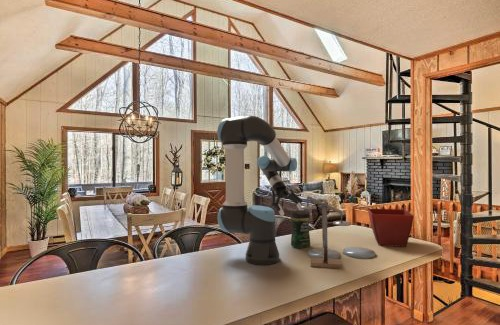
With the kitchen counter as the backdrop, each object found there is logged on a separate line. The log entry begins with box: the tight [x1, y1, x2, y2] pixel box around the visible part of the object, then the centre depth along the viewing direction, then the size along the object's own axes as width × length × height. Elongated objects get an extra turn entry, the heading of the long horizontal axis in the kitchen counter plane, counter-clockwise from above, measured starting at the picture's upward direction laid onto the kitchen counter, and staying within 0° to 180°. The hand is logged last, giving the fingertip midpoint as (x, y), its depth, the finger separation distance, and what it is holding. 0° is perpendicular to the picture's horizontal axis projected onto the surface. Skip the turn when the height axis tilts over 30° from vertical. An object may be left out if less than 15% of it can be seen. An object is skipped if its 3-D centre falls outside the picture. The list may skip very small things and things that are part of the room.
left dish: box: [308, 247, 341, 259], centre depth 130 cm, size 14×14×1 cm
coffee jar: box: [290, 209, 311, 249], centre depth 146 cm, size 10×8×19 cm
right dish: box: [342, 246, 376, 259], centre depth 132 cm, size 14×14×1 cm
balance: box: [300, 195, 352, 269], centre depth 118 cm, size 21×7×29 cm, turn 78°
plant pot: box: [367, 208, 414, 247], centre depth 150 cm, size 19×19×17 cm
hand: (293, 214), depth 153 cm, fingers open, 13 cm apart
